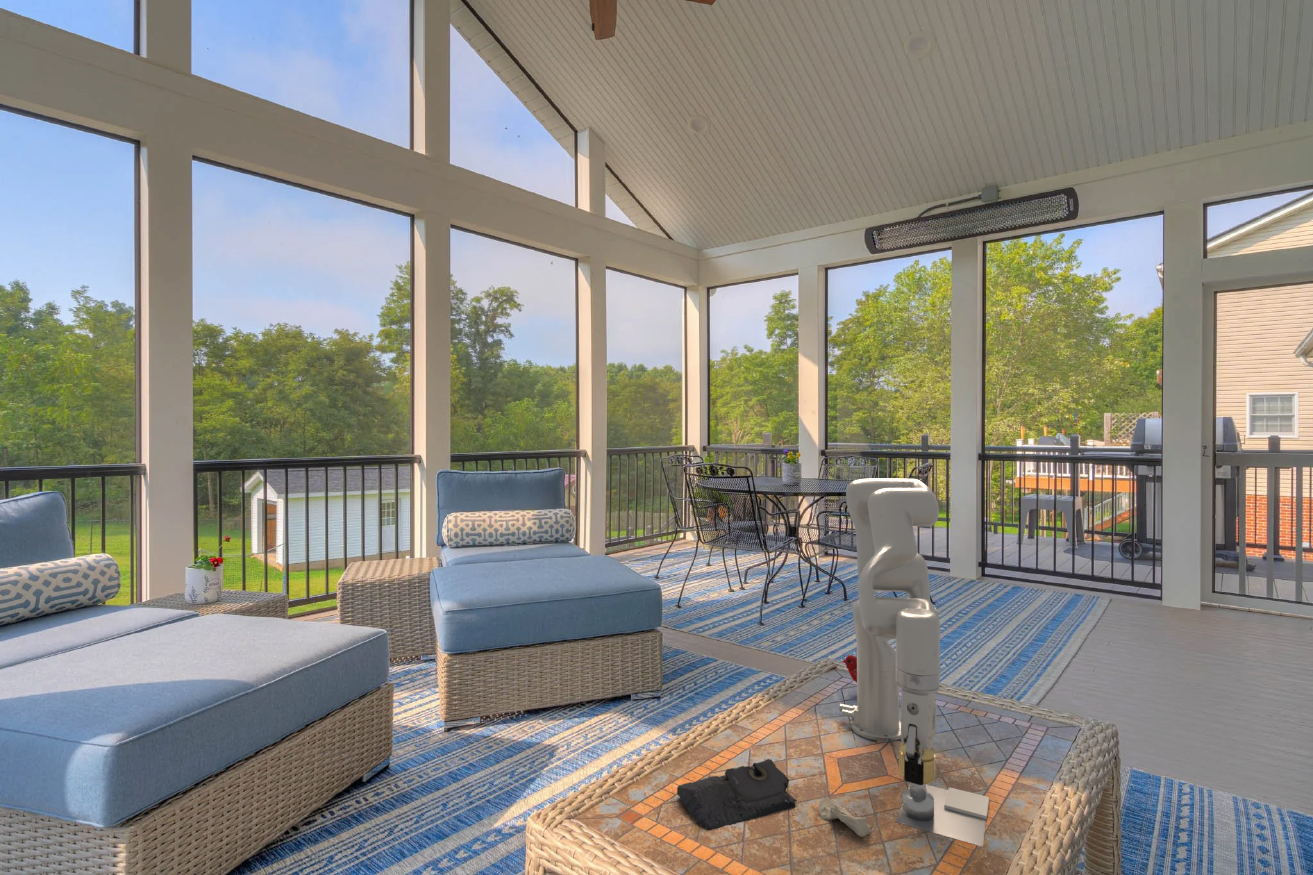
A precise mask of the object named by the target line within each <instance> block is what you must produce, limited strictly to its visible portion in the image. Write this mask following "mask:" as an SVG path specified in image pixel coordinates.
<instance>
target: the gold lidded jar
mask: <svg viewBox="0 0 1313 875" xmlns="http://www.w3.org/2000/svg"><path fill="white" fill-rule="evenodd" d="M916 744H918V745H920V742H919V741H916ZM905 749H906V744H903V742H902V741H901V742H900V744H899V751H898V774H899V775H900V776H901V777H902V778H903V779H904V759H905ZM935 750H936V749H934V746H932V745H931V748H930V749H928V750H926V748H923V751H922V762H923V763H924V783H923V784H926V785H929V784H933V783H935V779H936V751H935ZM918 751H919V749H918V748H915V752H917V754H918Z"/></svg>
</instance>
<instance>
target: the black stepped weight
mask: <svg viewBox="0 0 1313 875" xmlns="http://www.w3.org/2000/svg"><path fill="white" fill-rule="evenodd" d="M789 782H790V779H789V778H788V777H787V776H786V774H785V773H784V772H783V771H781V770H780V769H779V767H777V766H776V764H775V762H774V761H773V760H772V759H771V758H767V759H765V760H762V761H759V762H753V764H752V765H751V766H744V765H742V766H739V767H736V768H734V767H733V768H731V767H730V768H728V769H726V770H725V772H724V774H723V775H721V776H719V775H714V776H709V777H705V778H703V779H699V780H696V781H693V782H691V781H690V782H685V783H683V784H679V785H678V786H677V787H676V788H677V789H676V794H677V796H678V797H679V798H680V800H681V803H682V804H683V806H685V807H686V808H687V810H688V812H689V815H690V816H691V817H692V818H693V819H694V820H695V821H696V823H697V824H698V825H700V826H701V827H702V828H705V829H706V830H708V831H711V830H717V829H721V828H723V827H726V826H732V825H736V824H739V823H744V822H748V821H751V820H756V819H757V818H762V817H765V816H768V815H773V814H776V813H780V812H783V811H786V810H790V809H794V808H795V807H796V806H797V805H796V803H795V802H797V801H798V800H797V799H796V798H795V797H793V796H792V795H791V794H789V792H787V791H786V790H787V789H788V787H789V786H788V785H789Z"/></svg>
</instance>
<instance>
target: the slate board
mask: <svg viewBox="0 0 1313 875" xmlns="http://www.w3.org/2000/svg"><path fill="white" fill-rule="evenodd" d="M907 789H910V784H908V788H907ZM926 792H928V793H930V794H931V795H932V796H933V798H934V818H933V819H932V820H930V821H917V820H913V819H911V818H909V817H907V816H906V815H905V814H904V813H903V810H902V805H901V807H900V809H899V813H898V816H897V818H896V821H895V823H898V824H901V825H906V826H909V827H912V828H914V829H918V830H921V831H925V832H929V833H933V834H936V835H939V836H943V837H947V838H949V839H954V840H956V841H961V842H964V843H967V844H971V845H975V846H978V847H981V848H982V847H983V846H984V839H985V833H986V832H985V831H986V825H987V819H984V818H980V817H976V816H972V815H969V814H965V813H961V812H957V811H954V810H950V809H946V808H944V805H945V801H946V797H947V793H948V789H946V788H941V787H937V786H933V785H930V784H926Z"/></svg>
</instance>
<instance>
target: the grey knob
mask: <svg viewBox="0 0 1313 875" xmlns="http://www.w3.org/2000/svg"><path fill="white" fill-rule="evenodd" d="M909 785H910V789H908V788H907V789H903V791H902V795H901V796H902V801H901V802H902V804H901V806H902V810H903V813H904V814H905V815H906V816H907V817H909V818H911V819H913V820H917V821H930V820H932V819H933V818H934V798H933V796H932V795H931V794H930V793H928V792H926V785H927V784H923V785H918V784H914V783H910V782H909Z"/></svg>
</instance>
